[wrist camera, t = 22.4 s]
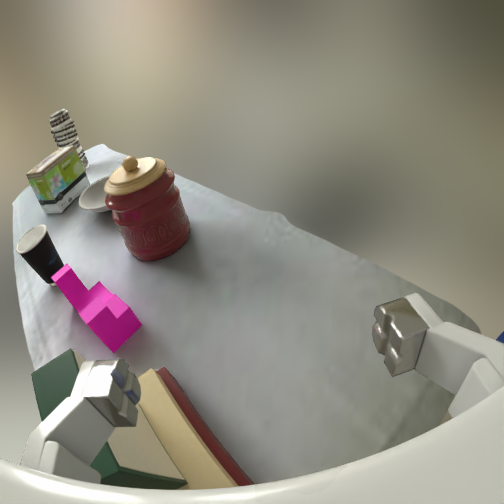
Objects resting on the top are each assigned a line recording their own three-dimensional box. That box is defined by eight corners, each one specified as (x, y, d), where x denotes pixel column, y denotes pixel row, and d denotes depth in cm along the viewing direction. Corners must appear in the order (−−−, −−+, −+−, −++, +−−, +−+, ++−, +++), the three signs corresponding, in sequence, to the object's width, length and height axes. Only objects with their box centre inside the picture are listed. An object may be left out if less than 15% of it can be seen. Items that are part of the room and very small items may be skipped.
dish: (80, 210, 70) (72, 195, 66) (122, 183, 76) (116, 168, 73) (97, 235, 59) (88, 217, 56) (148, 202, 66) (141, 184, 62)
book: (188, 483, 20) (120, 470, 11) (150, 502, 18) (66, 494, 10) (138, 401, 26) (70, 345, 18) (106, 420, 24) (30, 371, 16)
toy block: (142, 324, 41) (120, 293, 36) (113, 353, 37) (86, 324, 32) (97, 283, 48) (77, 254, 43) (73, 305, 45) (51, 277, 40)
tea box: (62, 214, 70) (40, 170, 60) (45, 214, 73) (24, 174, 63) (91, 184, 81) (74, 143, 71) (73, 186, 83) (56, 148, 73)
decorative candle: (85, 172, 90) (61, 111, 73) (65, 179, 90) (41, 120, 73) (93, 161, 97) (72, 103, 80) (74, 168, 97) (53, 112, 80)
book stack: (261, 491, 23) (254, 492, 19) (165, 542, 18) (140, 548, 14) (173, 377, 34) (155, 356, 30) (96, 423, 29) (69, 407, 25)
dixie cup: (75, 278, 50) (47, 236, 43) (45, 298, 47) (15, 259, 39) (69, 258, 55) (45, 219, 47) (42, 276, 52) (16, 239, 44)
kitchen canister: (197, 247, 51) (168, 157, 39) (130, 271, 49) (87, 188, 37) (185, 210, 61) (162, 133, 49) (128, 230, 59) (97, 157, 46)
